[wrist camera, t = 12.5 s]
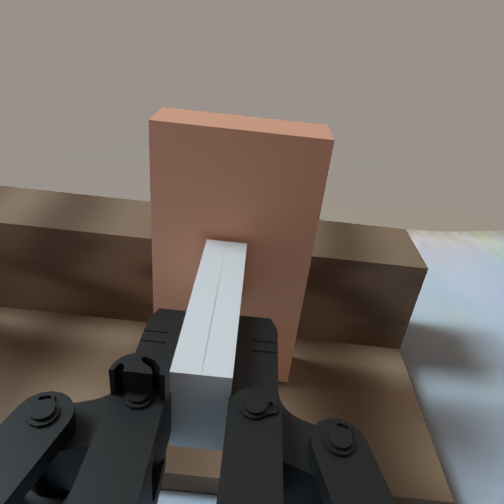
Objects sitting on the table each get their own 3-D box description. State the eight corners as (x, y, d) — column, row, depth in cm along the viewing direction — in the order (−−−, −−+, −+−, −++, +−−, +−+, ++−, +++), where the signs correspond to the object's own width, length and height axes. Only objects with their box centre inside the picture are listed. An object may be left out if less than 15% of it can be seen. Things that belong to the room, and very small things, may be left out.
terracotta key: (286, 350, 21) (327, 124, 16) (287, 382, 19) (334, 139, 14) (164, 338, 21) (162, 106, 16) (154, 368, 19) (148, 119, 14)
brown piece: (378, 315, 26) (405, 229, 23) (445, 517, 16) (508, 408, 13) (-176, 257, 26) (-221, 161, 23) (-471, 423, 16) (-622, 290, 13)
